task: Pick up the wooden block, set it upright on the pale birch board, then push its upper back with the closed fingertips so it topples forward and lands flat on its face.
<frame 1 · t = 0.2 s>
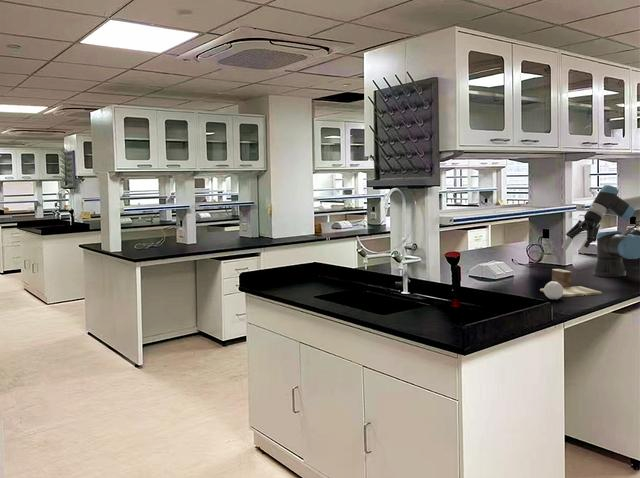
hand: (571, 250, 278), 16 cm above the counter, tool tilted 35°, fingers open, 13 cm apart
board: (570, 292, 254), on the counter
geometric ball: (553, 299, 242), on the counter
wooden block: (561, 287, 269), on the counter
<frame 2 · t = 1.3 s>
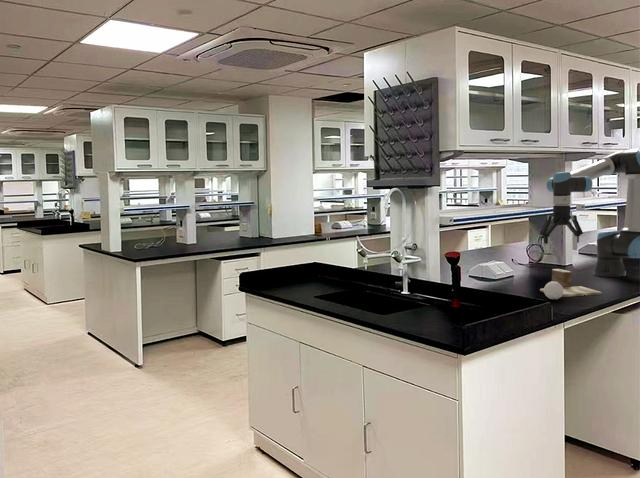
hand: (561, 250, 267), 17 cm above the counter, tool pointing down, fingers open, 13 cm apart
nothing on the counter moved.
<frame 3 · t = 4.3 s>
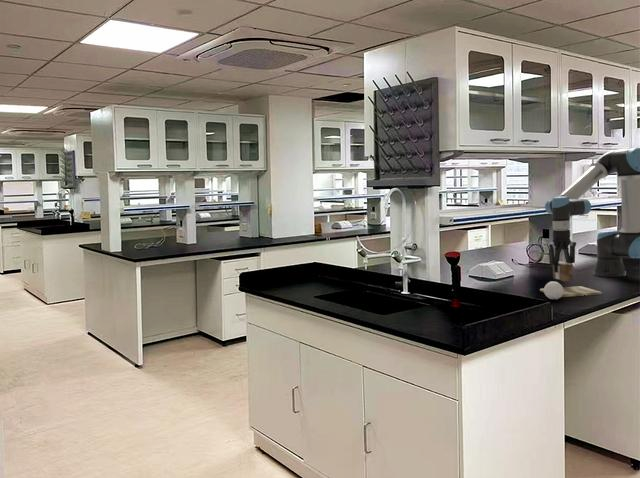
hand: (562, 278, 269), 4 cm above the counter, tool pointing down, fingers closed on wooden block, 4 cm apart
wooden block: (562, 279, 269), point 4 cm above the counter, touching gripper
everything else where it was.
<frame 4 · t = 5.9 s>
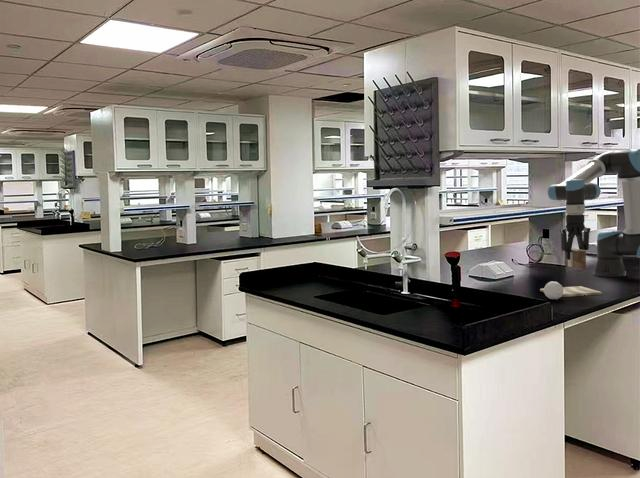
hand: (575, 266, 254), 12 cm above the counter, tool pointing down, fingers closed on wooden block, 4 cm apart
wooden block: (575, 267, 254), point 11 cm above the counter, touching gripper
everything else where it was.
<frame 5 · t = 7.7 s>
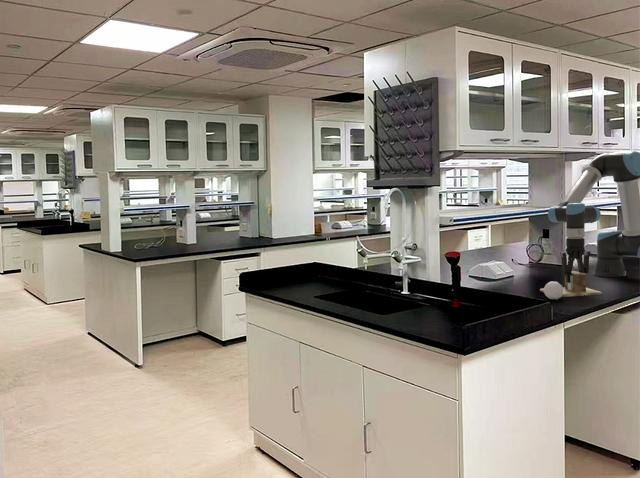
hand: (575, 289, 254), 1 cm above the counter, tool pointing down, fingers closed on board, wooden block, 4 cm apart
wooden block: (575, 290, 254), point 1 cm above the counter, touching board, gripper
everything else where it was.
when the fingers open (1 cm above the counter, at t = 8.0 s): wooden block stays where it is, resting on board.
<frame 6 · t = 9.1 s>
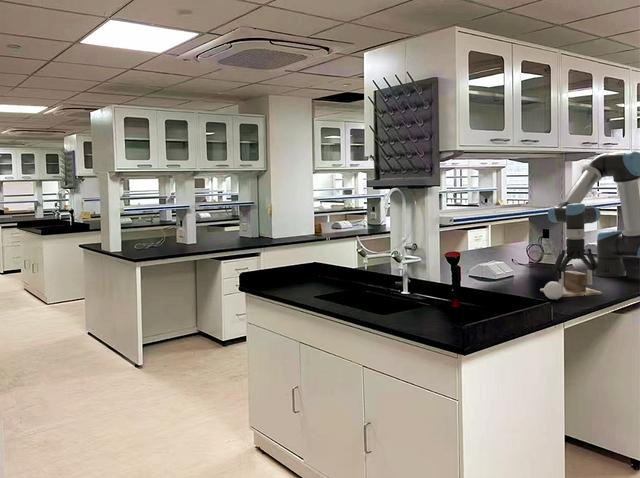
hand: (575, 285, 254), 3 cm above the counter, tool pointing down, fingers open, 13 cm apart
wooden block: (575, 290, 254), point 1 cm above the counter, touching board
everything else where it was.
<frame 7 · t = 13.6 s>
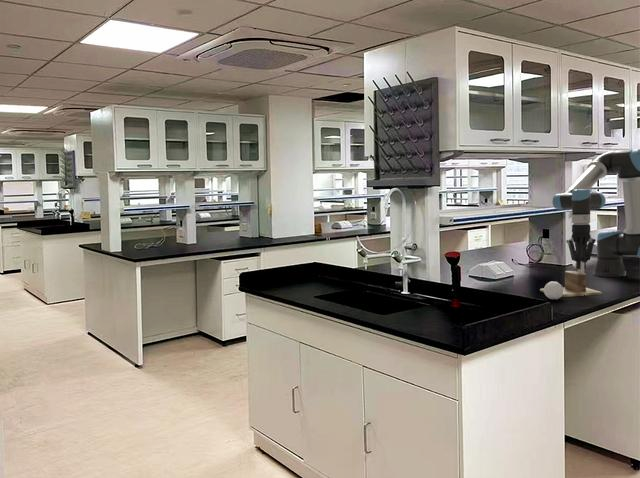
hand: (580, 276, 254), 7 cm above the counter, tool pointing down, fingers closed
wooden block: (575, 290, 254), point 1 cm above the counter, touching board, gripper
everything else where it was.
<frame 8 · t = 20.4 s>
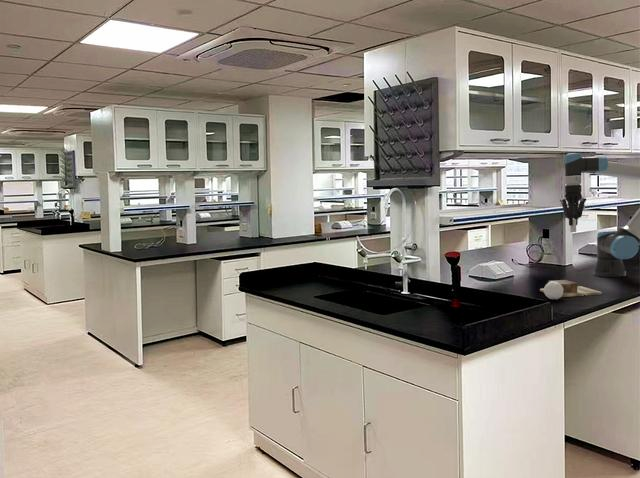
hand: (573, 232, 283), 24 cm above the counter, tool pointing down, fingers closed
wooden block: (571, 285, 254), point 3 cm above the counter, tilted 90°, touching board
everything else where it was.
at the end: wooden block tilted 90°; wooden block inside the target area (5.9 cm from its centre), point 3.0 cm above the counter; the gripper is holding nothing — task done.
